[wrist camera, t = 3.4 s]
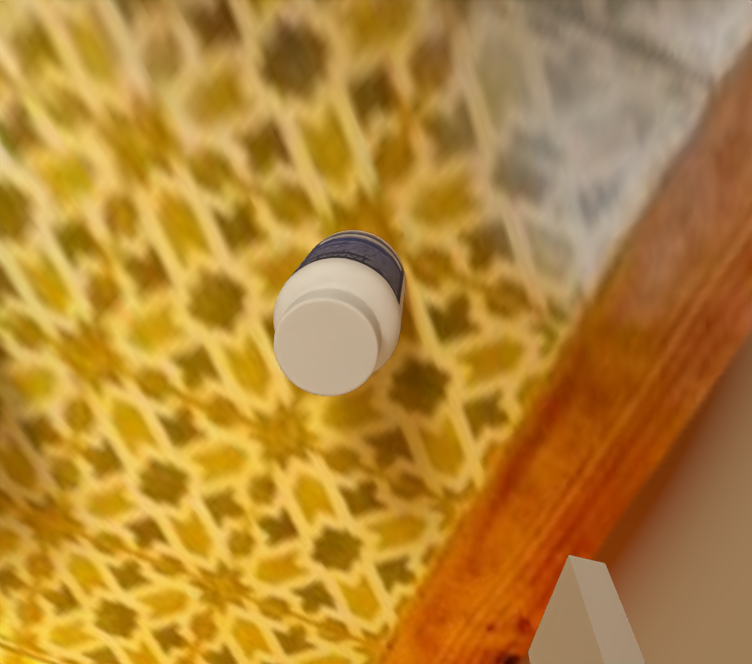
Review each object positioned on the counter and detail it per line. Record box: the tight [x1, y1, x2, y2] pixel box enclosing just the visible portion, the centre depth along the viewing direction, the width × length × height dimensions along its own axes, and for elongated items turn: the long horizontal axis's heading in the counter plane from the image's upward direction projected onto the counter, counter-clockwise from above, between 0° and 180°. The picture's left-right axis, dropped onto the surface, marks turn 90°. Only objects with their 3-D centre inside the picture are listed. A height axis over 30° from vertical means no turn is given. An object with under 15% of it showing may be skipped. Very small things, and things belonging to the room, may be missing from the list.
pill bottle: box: [273, 230, 405, 396], centre depth 26 cm, size 5×5×10 cm
